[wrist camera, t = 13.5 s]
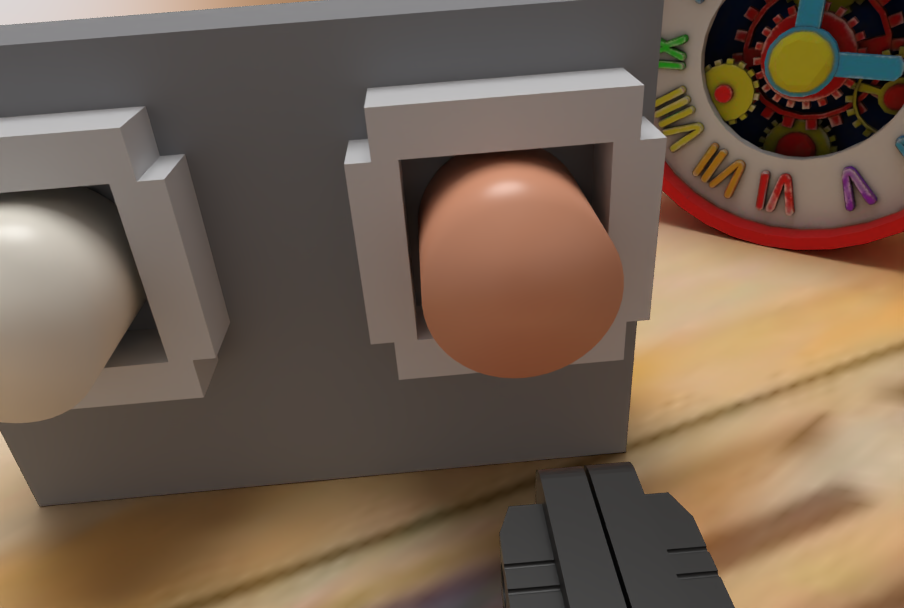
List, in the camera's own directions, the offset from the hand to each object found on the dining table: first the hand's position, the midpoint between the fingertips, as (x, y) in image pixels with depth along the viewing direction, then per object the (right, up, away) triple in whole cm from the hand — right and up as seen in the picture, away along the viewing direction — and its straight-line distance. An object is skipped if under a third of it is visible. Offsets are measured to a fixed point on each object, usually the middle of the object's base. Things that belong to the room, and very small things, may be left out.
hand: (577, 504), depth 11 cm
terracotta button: (0, +2, +9) cm, 9 cm away
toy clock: (+18, +8, +31) cm, 36 cm away
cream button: (-13, +1, +9) cm, 16 cm away
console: (-7, -2, +17) cm, 18 cm away
